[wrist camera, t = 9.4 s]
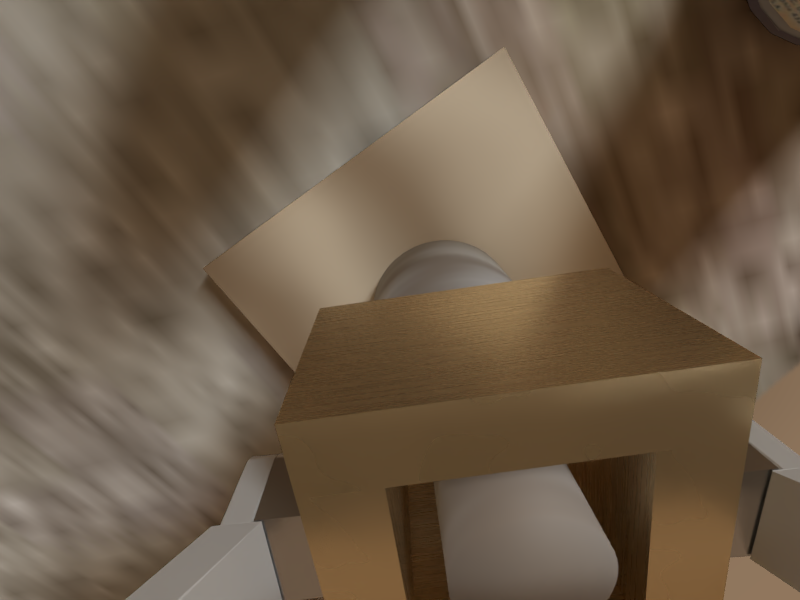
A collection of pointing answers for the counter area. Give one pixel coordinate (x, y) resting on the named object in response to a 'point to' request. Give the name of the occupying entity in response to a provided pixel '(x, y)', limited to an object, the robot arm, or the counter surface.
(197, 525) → the counter surface
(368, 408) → the collar
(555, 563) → the shaft stand
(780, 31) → the aerosol can
